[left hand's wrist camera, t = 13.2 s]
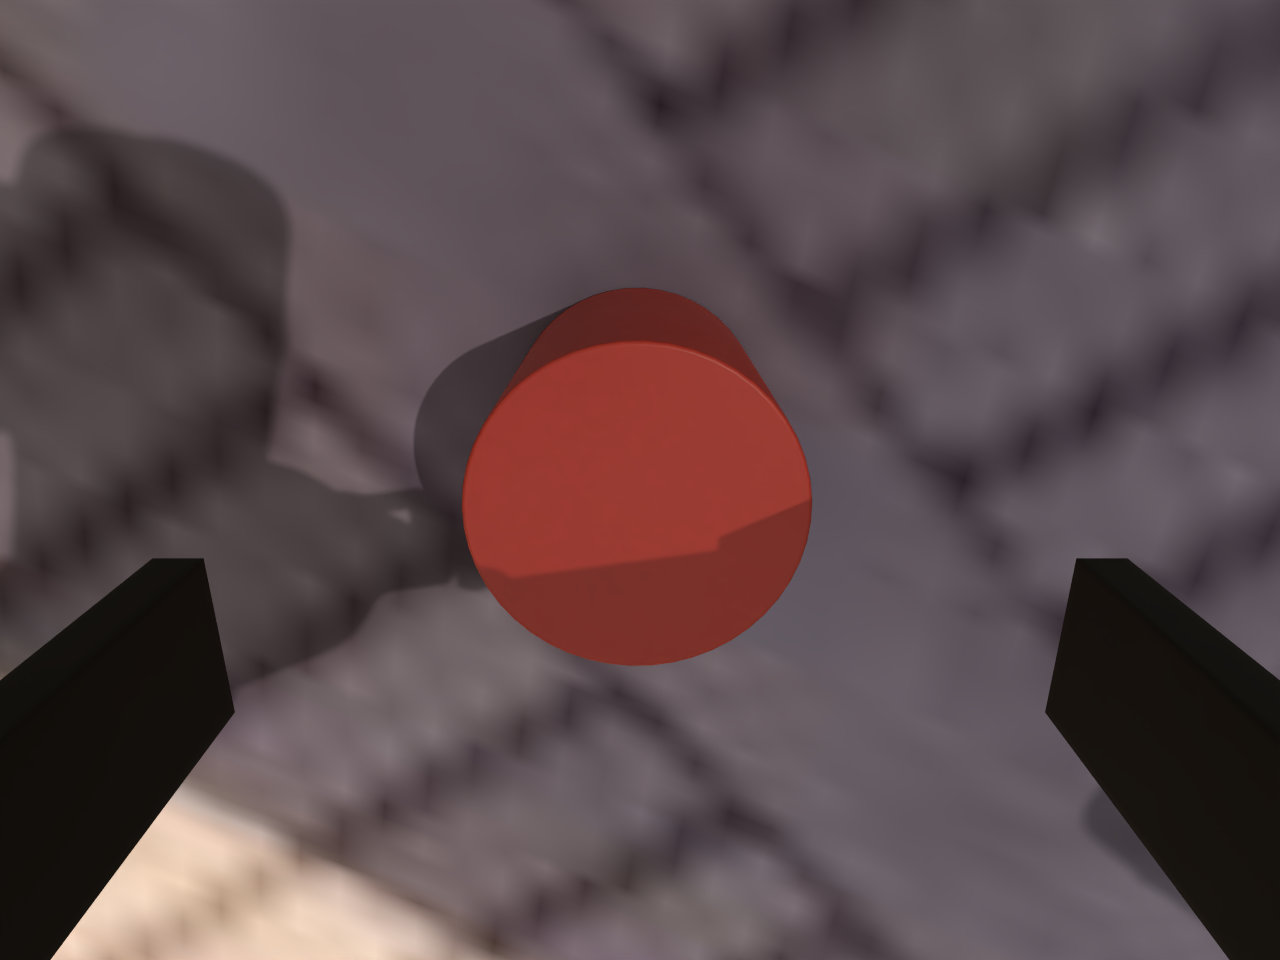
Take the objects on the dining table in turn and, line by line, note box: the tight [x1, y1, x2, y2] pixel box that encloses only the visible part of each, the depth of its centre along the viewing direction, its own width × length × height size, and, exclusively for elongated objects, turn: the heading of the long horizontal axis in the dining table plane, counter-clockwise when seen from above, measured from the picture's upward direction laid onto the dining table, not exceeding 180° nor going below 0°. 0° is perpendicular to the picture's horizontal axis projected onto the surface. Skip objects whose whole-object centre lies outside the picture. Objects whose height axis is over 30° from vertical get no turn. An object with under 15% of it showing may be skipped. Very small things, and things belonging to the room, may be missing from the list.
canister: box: [462, 288, 812, 666], centre depth 22 cm, size 8×8×9 cm
